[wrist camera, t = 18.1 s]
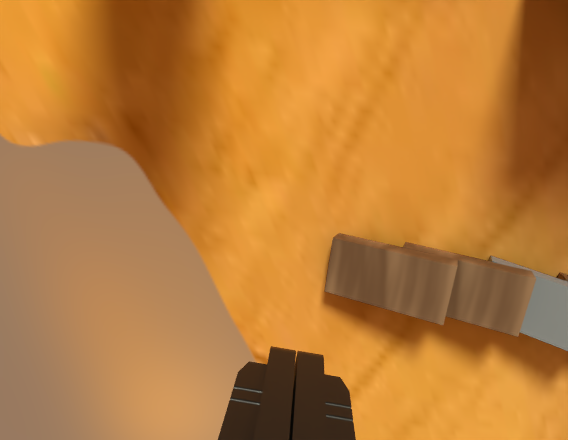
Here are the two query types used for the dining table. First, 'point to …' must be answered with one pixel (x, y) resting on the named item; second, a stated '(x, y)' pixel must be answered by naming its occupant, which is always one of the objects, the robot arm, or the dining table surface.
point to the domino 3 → (545, 308)
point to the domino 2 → (487, 292)
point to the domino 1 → (391, 277)
